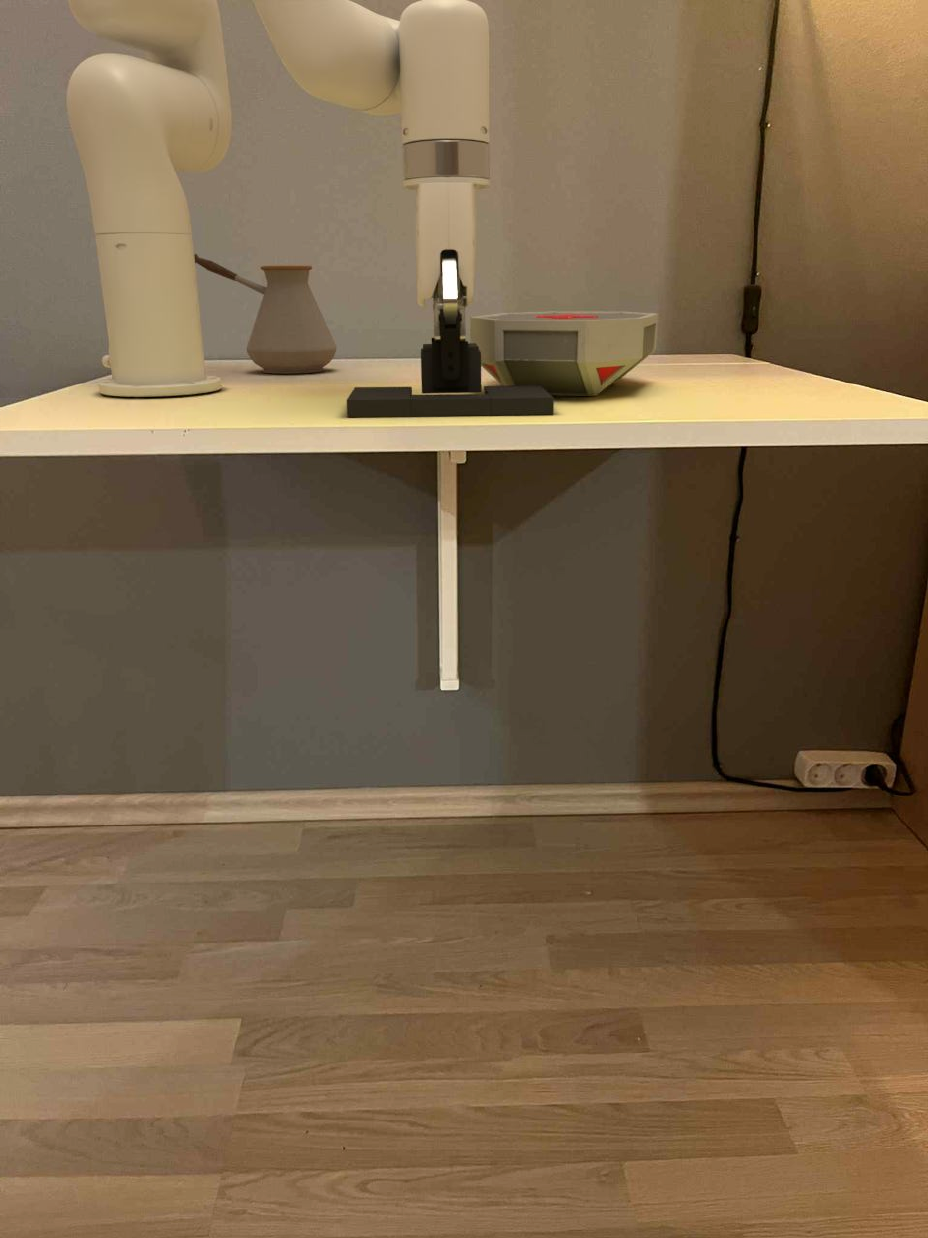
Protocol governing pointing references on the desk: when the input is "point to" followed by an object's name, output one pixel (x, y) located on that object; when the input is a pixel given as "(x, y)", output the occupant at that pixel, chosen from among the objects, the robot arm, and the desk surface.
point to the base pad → (449, 402)
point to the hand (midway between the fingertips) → (449, 382)
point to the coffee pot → (285, 321)
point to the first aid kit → (563, 348)
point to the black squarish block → (473, 370)
